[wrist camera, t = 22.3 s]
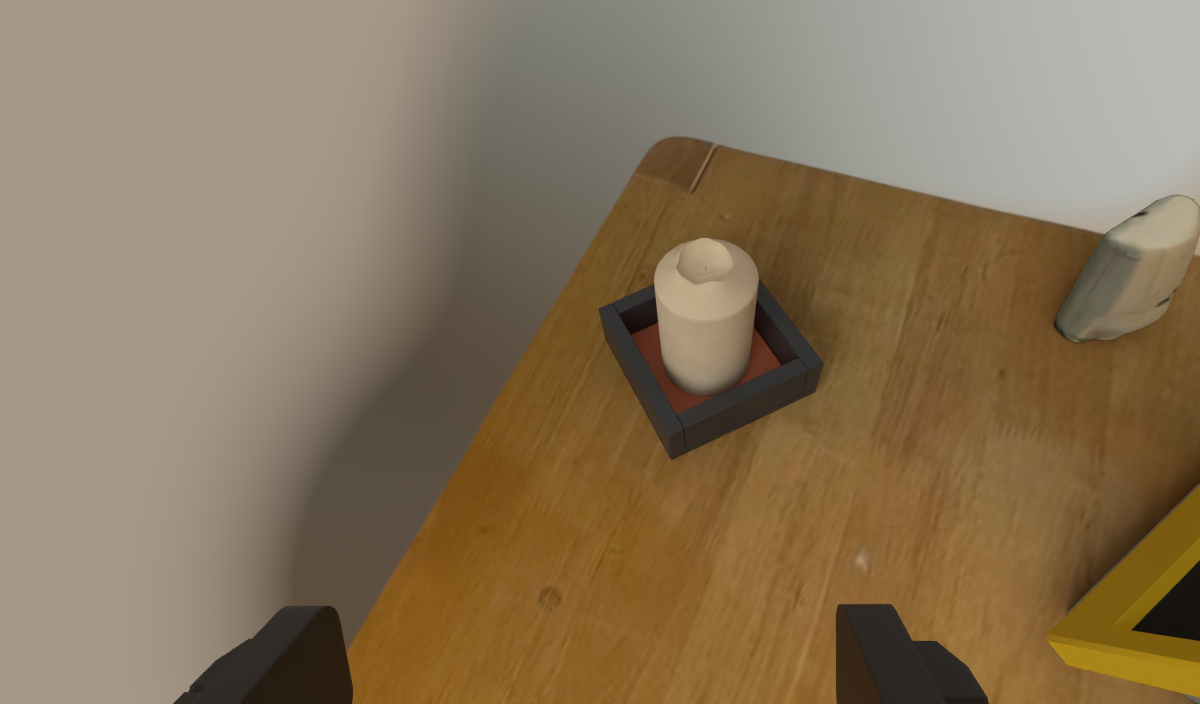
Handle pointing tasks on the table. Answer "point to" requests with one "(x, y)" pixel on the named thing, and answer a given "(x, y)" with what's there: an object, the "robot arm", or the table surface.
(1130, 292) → the beige rounded block
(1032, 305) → the table surface
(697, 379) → the candle
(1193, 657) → the toy computer monitor
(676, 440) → the tray
